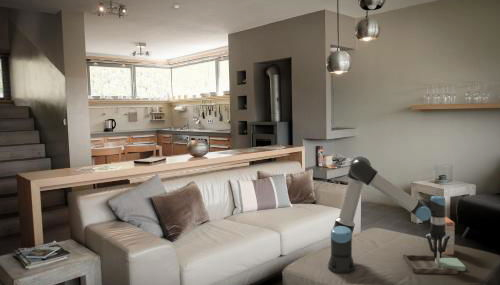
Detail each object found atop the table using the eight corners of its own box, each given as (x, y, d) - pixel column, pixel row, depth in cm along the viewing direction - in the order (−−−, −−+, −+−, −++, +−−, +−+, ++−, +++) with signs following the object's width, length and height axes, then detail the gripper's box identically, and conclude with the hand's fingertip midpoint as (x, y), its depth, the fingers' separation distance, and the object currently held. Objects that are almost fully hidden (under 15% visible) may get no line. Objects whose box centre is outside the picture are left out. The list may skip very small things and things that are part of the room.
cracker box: (454, 255, 239) (455, 222, 237) (444, 255, 240) (444, 222, 238) (446, 247, 253) (446, 216, 251) (436, 247, 254) (436, 215, 252)
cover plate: (442, 270, 217) (442, 265, 217) (435, 261, 229) (435, 257, 229) (465, 270, 216) (465, 266, 215) (456, 262, 228) (456, 258, 227)
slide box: (413, 273, 215) (413, 268, 215) (403, 259, 235) (403, 254, 235) (457, 274, 212) (457, 269, 212) (443, 260, 232) (443, 255, 232)
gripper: (428, 225, 218) (427, 265, 220) (452, 225, 216) (451, 266, 218) (423, 221, 225) (423, 260, 227) (447, 221, 224) (446, 261, 226)
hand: (437, 263), depth 223 cm, fingers closed
